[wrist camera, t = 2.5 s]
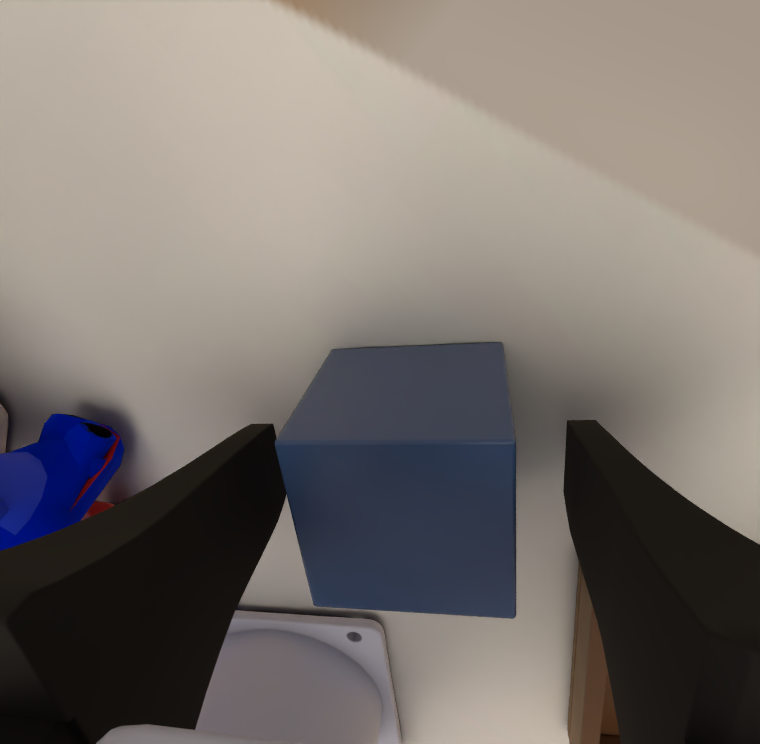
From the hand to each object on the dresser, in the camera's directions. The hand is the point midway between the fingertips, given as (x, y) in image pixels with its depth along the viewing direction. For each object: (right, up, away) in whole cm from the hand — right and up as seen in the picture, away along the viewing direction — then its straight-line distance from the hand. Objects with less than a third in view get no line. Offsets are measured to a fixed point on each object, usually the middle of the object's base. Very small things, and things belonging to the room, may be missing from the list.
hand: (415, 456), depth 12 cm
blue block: (0, +1, +2) cm, 2 cm away
